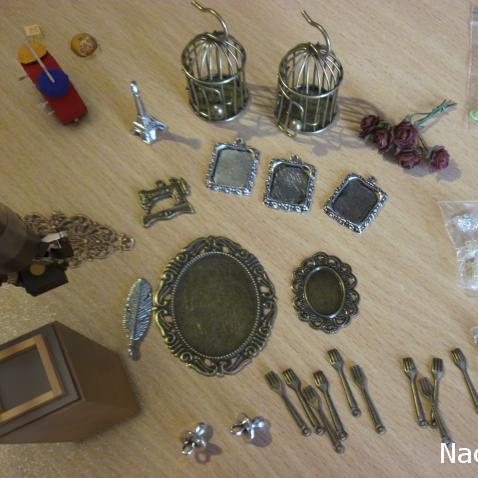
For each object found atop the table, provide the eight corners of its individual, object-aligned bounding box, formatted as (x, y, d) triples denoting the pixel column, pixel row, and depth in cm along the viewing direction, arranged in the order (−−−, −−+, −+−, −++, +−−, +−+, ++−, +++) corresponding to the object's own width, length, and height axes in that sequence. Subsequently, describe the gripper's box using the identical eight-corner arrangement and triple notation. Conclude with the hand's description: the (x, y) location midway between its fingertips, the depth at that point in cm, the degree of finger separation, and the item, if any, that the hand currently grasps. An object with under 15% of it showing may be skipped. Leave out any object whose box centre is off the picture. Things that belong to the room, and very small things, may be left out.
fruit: (95, 71, 129) (90, 61, 125) (64, 56, 129) (58, 46, 126) (115, 46, 132) (111, 35, 128) (85, 31, 132) (80, 21, 129)
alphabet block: (28, 35, 131) (23, 26, 128) (41, 31, 131) (36, 22, 128) (32, 45, 130) (26, 36, 127) (45, 41, 130) (40, 32, 128)
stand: (79, 442, 102) (-16, 445, 68) (57, 382, 105) (-44, 356, 71) (141, 411, 105) (79, 399, 71) (118, 354, 108) (49, 316, 74)
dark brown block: (34, 297, 84) (24, 291, 81) (23, 266, 86) (13, 260, 82) (69, 282, 86) (61, 276, 82) (57, 252, 87) (49, 245, 84)
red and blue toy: (96, 123, 124) (66, 68, 106) (61, 143, 122) (24, 90, 103) (62, 78, 128) (27, 16, 109) (28, 96, 125) (-15, 36, 106)
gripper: (-58, 286, 67) (4, 315, 82) (61, 238, 70) (98, 275, 86) (-75, 233, 68) (-11, 271, 84) (41, 189, 72) (82, 234, 88)
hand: (44, 273), depth 85 cm, fingers closed on dark brown block, 5 cm apart
